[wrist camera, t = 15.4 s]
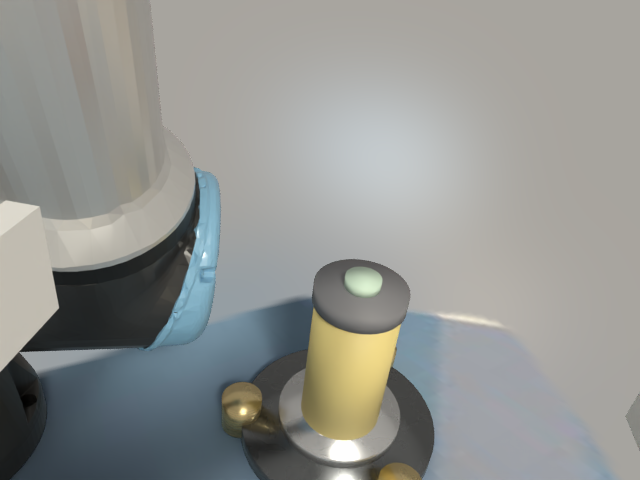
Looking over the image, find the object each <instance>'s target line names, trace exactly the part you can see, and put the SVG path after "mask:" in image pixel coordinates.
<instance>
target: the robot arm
mask: <svg viewBox="0 0 640 480" xmlns="http://www.w3.org/2000/svg"><path fill="white" fill-rule="evenodd" d="M220 217H221V205H220V190H219V183H218V181H217V179H216V177H215V176H214V175H213V174H211V173H210V172H205V171H201V170H200V169H199V168H195V167H194V168H193V164H192V161H191V158H190V155H189V153H188V151H187V150H186V148H185V147H184V145H183V143H182V142H181V141H180V140H179V139H178V138H177V137H176V136H175V135H174V134H173V133H172V132H171V131H170V130H168V129H167V128H166V127H164V126H163V125H162V118H161V107H160V98H159V87H158V77H157V67H156V56H155V47H154V37H153V26H152V17H151V6H150V0H0V480H9V479H10V478H11V477H12V476H13V475H14V474H15V473H16V472H17V471H18V470H19V469H20V468H21V467H22V466H23V465H24V463H25V462H26V461H27V460H28V458H29V457H30V456H31V454H32V453H33V451H34V450H35V448H36V446H37V444H38V443H39V441H40V438H41V436H42V433H43V431H44V427H45V423H46V416H47V407H46V402H45V397H44V393H43V389H42V385H41V382H40V380H39V377H38V375H37V374H36V372H35V370H34V369H33V368H32V366H31V365H30V364H29V363H28V362H27V361H26V360H25V358H24V357H22V355H21V354H20V353H19V352H29V351H59V350H88V349H119V348H138V349H139V350H143V351H150V350H152V349H155V348H156V347H161V346H173V345H184V344H188V343H190V342H193V341H194V340H196V339H197V338H198V337H199V336H200V335H201V334H202V333H203V331H204V330H205V328H206V326H207V323H208V320H209V317H210V313H211V308H212V303H213V297H214V290H215V270H216V267H217V260H218V255H219V240H220ZM626 418H627V421H628V423H629V426H630V428H631V431H632V433H633V436H634V438H635V440H636V443H637V445H638V448H639V450H640V393H639V394H638V396H637V398H636V400H635V401H634V403H633V405H632V406H631V408H630V410H629V411H628V413H627V415H626Z"/></svg>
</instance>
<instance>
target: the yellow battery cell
mask: <svg viewBox="0 0 640 480" xmlns="http://www.w3.org/2000/svg"><path fill="white" fill-rule="evenodd" d="M409 301H410V290H409V287H408V285H407V283H406V282H405V280H404V279H403V278H402V277H401V276H400V275H399V274H397V273H396V272H394V271H393V270H391V269H389V268H388V267H385V266H383V265H381V264H378V263H374V262H371V261H365V260H356V259H348V260H340V261H335V262H332V263H330V264H327V265H325V266H324V267H323V268H321V269H320V270H319V271H318V272H317V274H316V276H315V279H314V286H313V294H312V303H313V306H314V308H313V315H312V323H311V331H310V339H309V347H308V354H307V362H306V370H305V378H304V385H303V393H302V401H301V410H302V414H303V417H304V419H305V420H306V422H307V423H308V425H309V426H310V427H311V428H312V429H313V430H315V431H316V432H318V433H319V434H321V435H323V436H325V437H328V438H330V439H335V440H342V441H347V440H354V439H358V438H361V437H363V436H365V435H367V434H368V433H369V432H370V431H371V430H372V429H373V428H374V427H375V425H376V423H377V420H378V417H379V413H380V408H381V404H382V400H383V396H384V392H385V388H386V384H387V379H388V375H389V371H390V367H391V363H392V359H393V355H394V350H395V346H396V342H397V338H398V334H399V330H400V326H401V323H402V322H403V320H404V319H405V316H406V313H407V309H408V305H409Z"/></svg>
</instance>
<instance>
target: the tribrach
mask: <svg viewBox="0 0 640 480" xmlns="http://www.w3.org/2000/svg"><path fill="white" fill-rule="evenodd" d="M396 350H397V349H396V346H395V350H394V355H393V359H392V363H391V367H390V371H389V375H388V379H387V384H386V388H385V392H384V396H383V400H382V404H381V408H380V413H379V417H378V420H377V423H376V425H375V427H374V428H373V429H372V430H371V431H370V432H369V433H368V434H367V435H365V436H363V437H361V438H358V439H354V440H347V441H342V440H335V439H330V438H328V437H325V436H323V435H321V434H319V433H318V432H316V431H315V430H313V429H312V428H311V427H310V426H309V425H308V423H307V422H306V420H305V419H304V417H303V414H302V410H301V401H302V393H303V385H304V378H305V370H306V362H307V354H308V350H302V351H299V352H295V353H292V354H289V355H287V356H284V357H282V358H280V359H278V360H277V361H275V362H273V363H272V364H270V365H269V366H268V367H266V368H265V369H264V370H263V371H262V372H261V373H260V374H259V375H258V376H257V377H256V378H255V380H254V381H253V382H252V384H251V383H247V382H238V383H234V384H232V385H230V386H228V387H227V388H226V389H225V390H224V392H223V395H222V427H223V429H224V431H225V432H226V433H227V434H228V435H230V436H232V437H236V438H241V440H242V446H243V449H244V453H245V456H246V458H247V460H248V462H249V465H250V466H251V468H252V469H253V471H254V473H255V474H256V476H257V477H258V478H259V479H260V480H422V478H423V476H424V475H425V472H426V469H427V466H428V464H429V461H430V458H431V455H432V452H433V445H434V427H433V421H432V417H431V414H430V411H429V409H428V407H427V405H426V402H425V401H424V399H423V397H422V396H421V394H420V393H419V391H418V390H417V389H416V388H415V387H414V385H413V384H412V383H411V382H410V381H409V380H408V379H407V378H406V377H405V376H403V375H402V374H401V373H400V372H398V371H397V370H396V369H394V368H393V363H394V359H395V355H396Z"/></svg>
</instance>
